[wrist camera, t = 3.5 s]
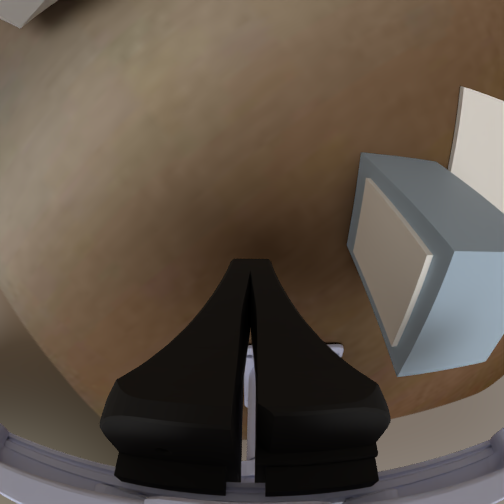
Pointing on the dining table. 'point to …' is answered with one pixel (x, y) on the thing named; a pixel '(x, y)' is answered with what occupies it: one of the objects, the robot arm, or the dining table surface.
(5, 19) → the die
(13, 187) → the dining table surface
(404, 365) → the block
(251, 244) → the dining table surface
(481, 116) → the mat
